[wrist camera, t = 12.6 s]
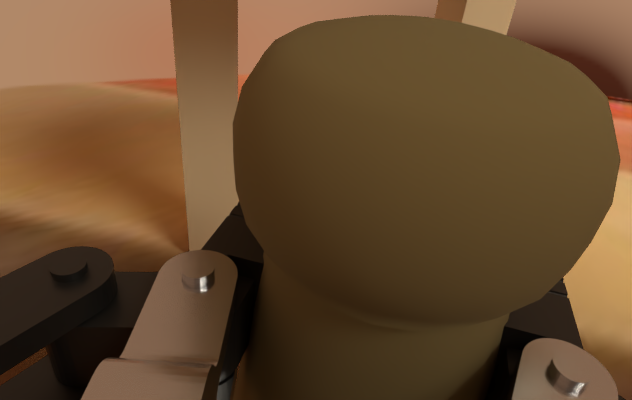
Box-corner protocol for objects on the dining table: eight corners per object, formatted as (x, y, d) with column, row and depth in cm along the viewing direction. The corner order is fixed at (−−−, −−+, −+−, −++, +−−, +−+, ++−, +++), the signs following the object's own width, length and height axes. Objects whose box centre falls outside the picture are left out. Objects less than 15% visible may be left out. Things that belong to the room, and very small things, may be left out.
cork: (245, 693, 8) (270, 157, 3) (198, 403, 13) (169, -21, 7) (509, 568, 10) (864, 110, 5) (387, 356, 15) (484, -5, 9)
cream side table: (427, 209, 24) (551, -251, 14) (555, 371, 16) (1021, -418, 6) (188, 227, 21) (145, -343, 11) (198, 440, 13) (84, -882, 3)
